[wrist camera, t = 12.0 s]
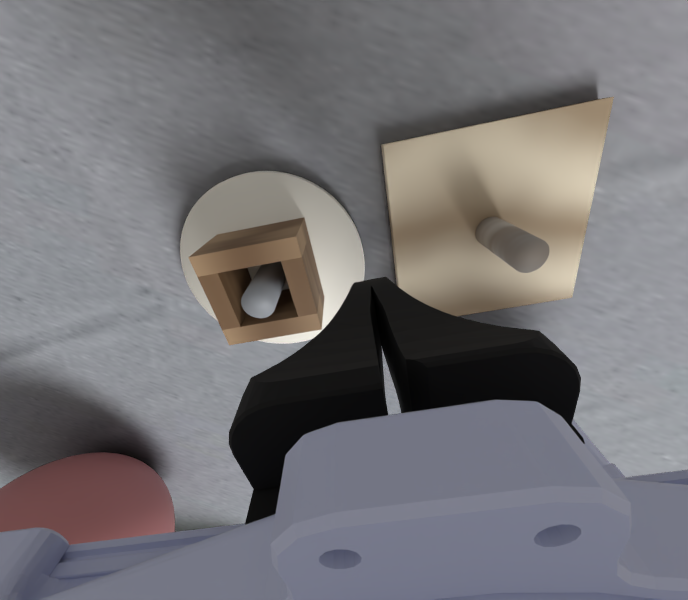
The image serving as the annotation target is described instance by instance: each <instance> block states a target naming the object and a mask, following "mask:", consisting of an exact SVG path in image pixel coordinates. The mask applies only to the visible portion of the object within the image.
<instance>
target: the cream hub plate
mask: <svg viewBox="0 0 688 600" xmlns="http://www.w3.org/2000/svg"><path fill="white" fill-rule="evenodd" d="M303 217H304V218H305V222H306V226H307V230H308V234H309V238H310V242H311V246H312V250H313V254H314V258H315V261H316V265H317V269H318V273H319V277H320V281H321V285H322V289H323V293H324V308H323V320H322V330H323V329H324V328H325V327H326V326H327V325H328V324H329V322H330V321H331V320H332V319H333V317H334V316H335V314H336V313H337V311H338V310H339V309H340V307H341V305H342V304H343V302H344V300H345V299H346V297H347V295H348V293H349V291H350V288H351V286H352V285H353V283H355V282H360V281H364V275H365V260H364V252H363V248H362V243H361V239H360V236H359V234H358V231H357V228H356V226H355V224H354V222H353V221H352V219H351V217H350V216H349V214H348V213H347V211H346V210H345V209H344V207H343V206H342V205H341V204H340V203H339V202H338V201H337V200H336V199H335V198H334V197H333V196H332V195H331V194H329V193H328V192H327V191H326V190H324V189H323V188H321V187H320V186H318V185H316V184H315V183H313V182H311V181H309V180H307V179H304V178H302V177H300V176H296V175H293V174H289V173H285V172H278V171H255V172H248V173H244V174H241V175H238V176H234V177H232V178H229V179H227V180H225V181H223V182H221V183H219V184H217V185H216V186H214V187H213V188H211V189H210V190H208V191H207V192H206V193H205V194H204V195H203V196H202V197H201V198H200V199H199V200H198V201H197V202H196V204H195V205H194V206H193V208H192V209H191V211H190V213H189V215H188V217H187V218H186V221H185V224H184V227H183V230H182V235H181V241H180V256H181V264H182V268H183V272H184V275H185V278H186V280H187V283H188V285H189V287H190V289H191V291H192V293H193V294H194V296H195V297H196V299H197V300H198V301H199V303H200V304H201V306H202V307H203V308H204V309H205V310H206V311H207V312H208V313H209V314H210V315H211V316H212V317H213V318H215V319H216V320H217V318H216V316H215V313H214V311H213V309H212V307H211V305H210V303H209V301H208V299H207V296H206V294H205V292H204V290H203V288H202V286H201V284H200V281H199V279H198V277H197V275H196V273H195V271H194V269H193V267H192V264H191V262H190V260H189V258H188V257H189V256H191V255H192V254H193V253H194V252H196V251H197V250H198V249H199V248H201V247H202V246H203V245H204V244H206V243H207V242H208V241H209V240H211V239H212V238H213V237H214V236H216V235H217V234H222V233H228V232H233V231H238V230H243V229H248V228H253V227H258V226H263V225H268V224H273V223H278V222H283V221H288V220H293V219H298V218H303ZM248 271H249V274H250V276H251V279H252V281H251V283H250V284H249V286H248V288H247V289H246V291H245V293H244V294H243V296H242V298H241V305H242V307H243V309H244V311H245V312H246V313H247V314H249V315H250V316H252V317H255V318H266V317H268V316H270V315H271V314H272V313H273V312H274V310H275V308H276V305H277V302H278V299H279V297H280V294H281V291H282V290H285V289H289V286H288V282H287V279H286V276H285V273H284V270H283V266H282V263H281V261H280V262H274V263H269V264H264V265H258V266H253V267H248ZM217 321H218V320H217ZM322 330H316V331H310V332H304V333H298V334H292V335H286V336H281V337H275V338H269V339H263V340H258V341H262V342H268V343H297V342H302V341H306V340H310V339H313V338H314V337H316V336H317V335H318V334H319V333H320V332H321V331H322Z"/></svg>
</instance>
